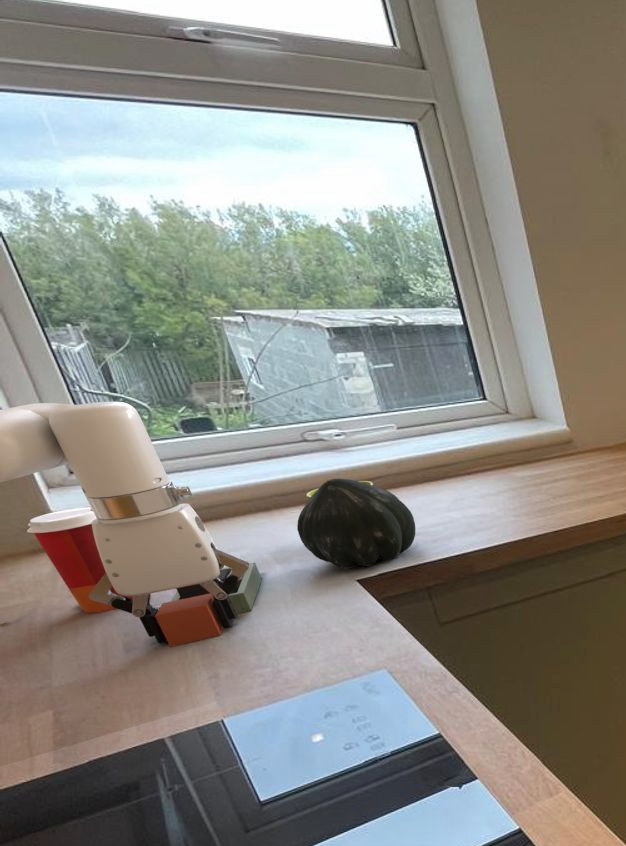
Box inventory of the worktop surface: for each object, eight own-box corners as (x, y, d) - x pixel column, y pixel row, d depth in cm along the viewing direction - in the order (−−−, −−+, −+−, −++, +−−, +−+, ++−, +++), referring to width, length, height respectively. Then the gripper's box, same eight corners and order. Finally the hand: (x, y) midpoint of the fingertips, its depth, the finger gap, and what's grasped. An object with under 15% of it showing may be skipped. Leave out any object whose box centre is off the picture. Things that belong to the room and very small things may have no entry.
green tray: (175, 627, 111) (166, 608, 110) (193, 592, 122) (185, 575, 121) (251, 610, 115) (243, 592, 114) (262, 578, 126) (254, 562, 125)
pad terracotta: (170, 646, 105) (154, 615, 103) (176, 633, 109) (162, 603, 107) (220, 635, 108) (206, 604, 106) (225, 622, 112) (211, 592, 110)
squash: (396, 504, 142) (309, 456, 129) (449, 517, 136) (363, 468, 123) (348, 576, 137) (252, 533, 124) (401, 592, 131) (306, 549, 118)
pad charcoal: (190, 617, 113) (175, 588, 111) (195, 606, 116) (182, 577, 115) (236, 607, 115) (223, 578, 113) (241, 596, 119) (228, 568, 117)
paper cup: (146, 589, 124) (103, 502, 119) (146, 603, 119) (101, 513, 114) (73, 606, 119) (25, 515, 114) (69, 621, 114) (19, 527, 109)
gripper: (230, 483, 109) (282, 604, 116) (46, 511, 99) (114, 641, 106) (222, 495, 103) (277, 622, 110) (26, 526, 94) (100, 663, 101)
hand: (196, 630), depth 108 cm, fingers open, 5 cm apart
